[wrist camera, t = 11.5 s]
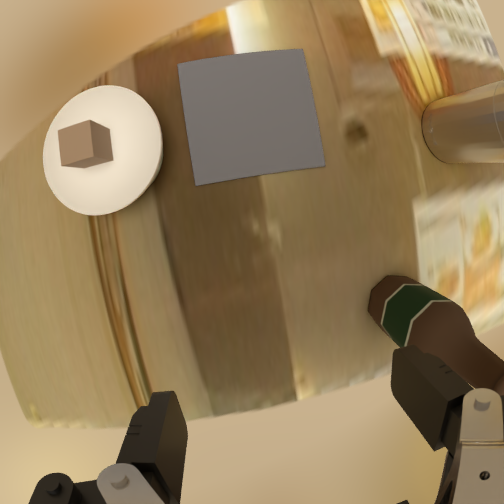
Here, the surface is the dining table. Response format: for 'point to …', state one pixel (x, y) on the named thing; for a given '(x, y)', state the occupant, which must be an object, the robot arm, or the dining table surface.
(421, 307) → the beer bottle
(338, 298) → the dining table surface
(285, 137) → the mat
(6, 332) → the dining table surface
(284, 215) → the dining table surface
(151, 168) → the lid
